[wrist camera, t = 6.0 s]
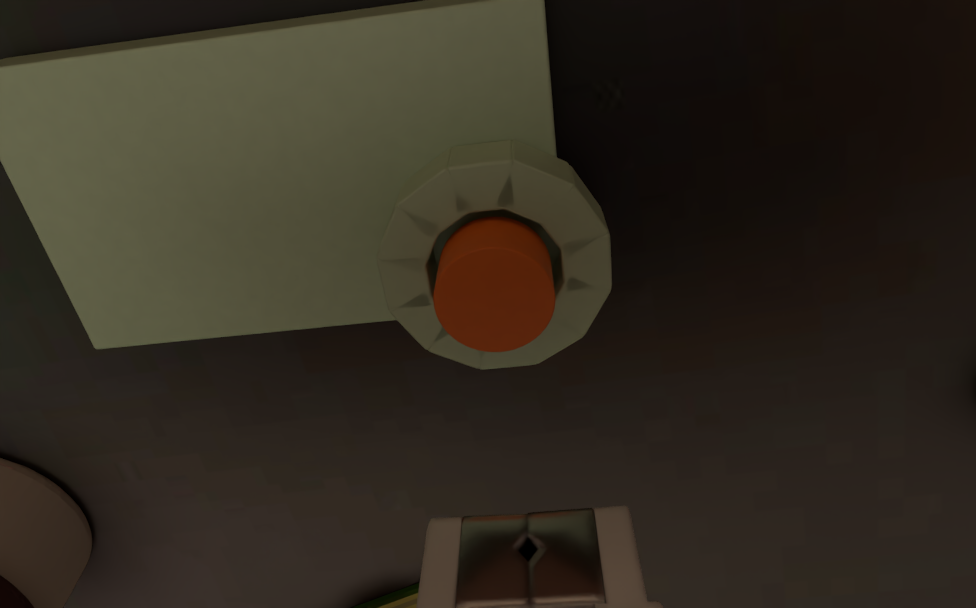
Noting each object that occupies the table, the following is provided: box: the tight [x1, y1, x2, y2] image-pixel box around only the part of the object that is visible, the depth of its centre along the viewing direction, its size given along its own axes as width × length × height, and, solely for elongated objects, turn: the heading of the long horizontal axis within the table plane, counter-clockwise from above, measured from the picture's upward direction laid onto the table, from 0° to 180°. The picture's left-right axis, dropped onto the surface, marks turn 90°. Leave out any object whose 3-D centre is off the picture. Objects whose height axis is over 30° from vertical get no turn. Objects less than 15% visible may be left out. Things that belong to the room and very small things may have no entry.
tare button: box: [433, 217, 555, 352], centre depth 16 cm, size 3×3×2 cm
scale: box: [0, 0, 612, 370], centre depth 18 cm, size 15×9×4 cm, turn 97°
